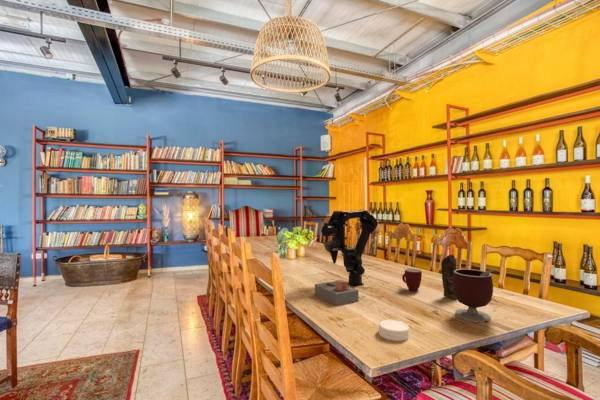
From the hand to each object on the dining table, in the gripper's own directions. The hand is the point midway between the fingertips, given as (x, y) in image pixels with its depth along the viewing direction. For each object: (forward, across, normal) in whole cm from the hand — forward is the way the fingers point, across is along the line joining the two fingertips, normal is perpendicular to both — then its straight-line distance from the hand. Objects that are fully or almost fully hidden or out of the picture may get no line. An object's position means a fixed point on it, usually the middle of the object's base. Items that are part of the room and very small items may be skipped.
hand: (339, 265), depth 160 cm
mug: (+12, +20, +30) cm, 38 cm away
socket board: (+12, +12, -11) cm, 20 cm away
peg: (+12, +16, -11) cm, 23 cm away
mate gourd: (+12, +58, +22) cm, 63 cm away
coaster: (+12, +54, -18) cm, 58 cm away
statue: (+12, +38, +37) cm, 54 cm away
